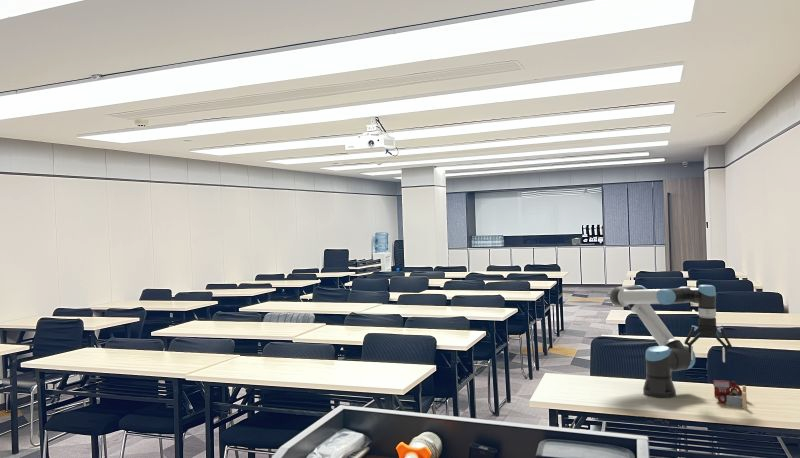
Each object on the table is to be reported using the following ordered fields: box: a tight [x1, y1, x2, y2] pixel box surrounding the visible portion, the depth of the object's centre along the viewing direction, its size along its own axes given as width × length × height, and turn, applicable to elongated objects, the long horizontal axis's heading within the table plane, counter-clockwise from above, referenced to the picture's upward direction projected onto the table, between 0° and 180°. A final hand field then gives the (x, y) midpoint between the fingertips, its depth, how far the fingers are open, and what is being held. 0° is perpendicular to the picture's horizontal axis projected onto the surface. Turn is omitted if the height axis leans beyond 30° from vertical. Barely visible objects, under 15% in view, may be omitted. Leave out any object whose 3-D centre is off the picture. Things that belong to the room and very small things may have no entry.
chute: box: [726, 385, 748, 410], centre depth 267 cm, size 8×15×7 cm, turn 148°
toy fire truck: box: [712, 379, 743, 405], centre depth 269 cm, size 7×12×10 cm, turn 64°
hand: (707, 360), depth 275 cm, fingers open, 13 cm apart
